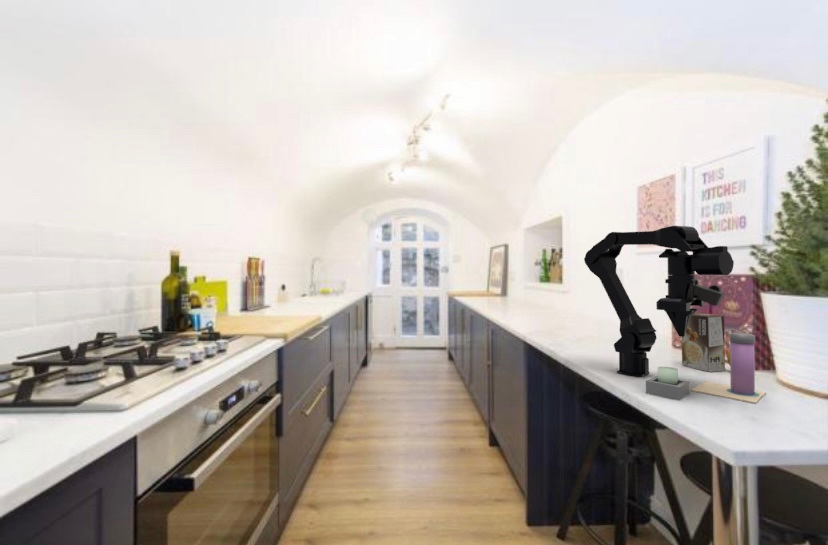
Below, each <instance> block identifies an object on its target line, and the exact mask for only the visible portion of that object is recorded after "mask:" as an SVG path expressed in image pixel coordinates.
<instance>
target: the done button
mask: <svg viewBox="0 0 828 545" xmlns="http://www.w3.org/2000/svg"><path fill="white" fill-rule="evenodd" d="M678 372H679V371H678V368H675V367H670V366H657V376H658V382H661V383H666V384H671V385H678Z"/></svg>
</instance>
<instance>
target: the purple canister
mask: <svg viewBox="0 0 828 545" xmlns="http://www.w3.org/2000/svg"><path fill="white" fill-rule="evenodd" d="M755 344H756V335H755V334H751V333H742V332H732V333H731V332H729V348H730V349H729V350H730V365H729V367H730V368H729V370H730V372H729V373H730V375H729V376H730V381H729V382H730V386H731V392H733V393H736V394H741V395H755V390H756V384H755V382H756V380H755V376H756V374H755V373H756V372H755V370H756V369H755V367H756V366H755V365H756V364H755Z"/></svg>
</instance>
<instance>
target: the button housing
mask: <svg viewBox="0 0 828 545" xmlns="http://www.w3.org/2000/svg"><path fill="white" fill-rule="evenodd" d="M690 388H691V384H690V380H689V381H688V380H683V379H678V385H671V384H666V383H661V382H658V375H656V376H653V377H651V378H649V379H646V380H645V394H648V393H649V394H648V395H652V394H653V395H652V396H657V397H661V398H667V399H672V400H675V399H676V401H681V400H682V399H684V398H686V397H688V396H690V394H691V390H690Z"/></svg>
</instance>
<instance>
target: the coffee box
mask: <svg viewBox="0 0 828 545" xmlns="http://www.w3.org/2000/svg"><path fill="white" fill-rule="evenodd" d="M725 338H726V337H725V316H724V315H716V314H707V313H698V312H695V313H693V314H692V315H691V317H690V320H689V323H688V327H687V330H686V333H685V336H684V337H681V365H682V366H683V367H688V368H693V369H696V370H701V371H705V372H708V373H712V372H715V373H716V372H725V371H726V353H725V352H726V348H725V343H726V342H725ZM724 370H725V371H724Z"/></svg>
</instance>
